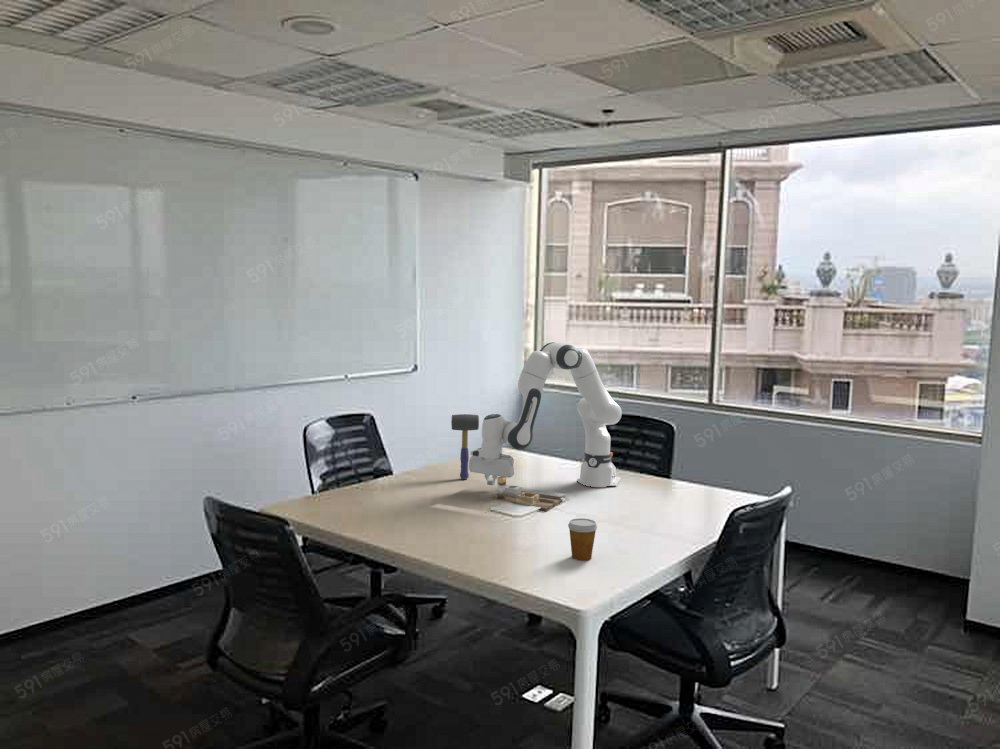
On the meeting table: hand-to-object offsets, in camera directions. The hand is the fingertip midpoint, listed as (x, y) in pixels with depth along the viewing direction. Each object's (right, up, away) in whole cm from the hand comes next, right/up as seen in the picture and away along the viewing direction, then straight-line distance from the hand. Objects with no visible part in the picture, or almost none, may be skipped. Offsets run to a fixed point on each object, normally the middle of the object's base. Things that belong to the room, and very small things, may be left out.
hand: (490, 484), depth 339 cm
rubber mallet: (-12, -1, +26) cm, 29 cm away
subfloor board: (+14, -6, -11) cm, 19 cm away
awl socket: (+15, -5, -16) cm, 23 cm away
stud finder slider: (+8, -3, -4) cm, 9 cm away
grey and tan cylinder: (+4, -4, -11) cm, 12 cm away
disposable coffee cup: (+31, -13, -77) cm, 84 cm away
